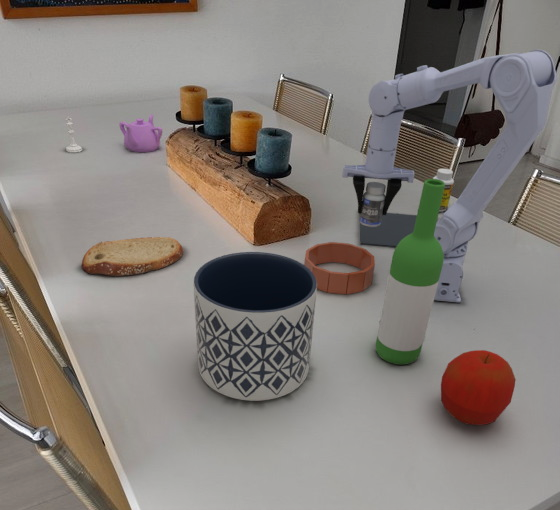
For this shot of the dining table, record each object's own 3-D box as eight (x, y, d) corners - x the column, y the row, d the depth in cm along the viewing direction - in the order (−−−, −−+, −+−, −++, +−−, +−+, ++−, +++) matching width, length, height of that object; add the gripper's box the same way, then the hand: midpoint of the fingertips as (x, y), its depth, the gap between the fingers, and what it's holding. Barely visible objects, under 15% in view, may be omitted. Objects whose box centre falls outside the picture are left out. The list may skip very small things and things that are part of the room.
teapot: (128, 155, 172) (124, 125, 166) (120, 143, 182) (116, 114, 176) (165, 152, 176) (163, 123, 170) (155, 140, 186) (153, 112, 180)
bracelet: (372, 297, 110) (375, 277, 107) (301, 290, 110) (302, 270, 108) (370, 264, 121) (373, 245, 118) (306, 258, 122) (307, 239, 119)
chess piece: (65, 148, 174) (58, 114, 168) (81, 147, 176) (75, 113, 170) (67, 153, 171) (60, 118, 165) (83, 151, 173) (77, 117, 166)
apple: (488, 392, 88) (511, 333, 80) (511, 437, 80) (538, 376, 72) (427, 392, 87) (443, 332, 80) (444, 437, 79) (464, 375, 72)
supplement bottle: (436, 214, 146) (445, 175, 139) (422, 206, 149) (430, 169, 143) (451, 210, 148) (460, 172, 142) (436, 203, 152) (444, 166, 145)
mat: (445, 252, 128) (446, 250, 127) (360, 244, 129) (360, 242, 128) (435, 218, 143) (436, 217, 143) (359, 211, 144) (360, 210, 144)
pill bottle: (356, 224, 118) (361, 185, 113) (363, 216, 121) (369, 179, 116) (376, 229, 116) (383, 190, 111) (383, 221, 120) (390, 183, 114)
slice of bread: (189, 249, 123) (188, 233, 120) (153, 286, 109) (151, 269, 107) (117, 236, 126) (114, 221, 124) (74, 271, 112) (70, 255, 110)
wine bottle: (425, 350, 96) (469, 180, 77) (410, 372, 91) (454, 196, 72) (384, 335, 99) (417, 168, 80) (367, 357, 94) (398, 183, 75)
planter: (176, 364, 90) (167, 275, 79) (257, 324, 100) (259, 241, 90) (249, 421, 80) (251, 327, 70) (331, 370, 90) (342, 283, 80)
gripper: (416, 143, 112) (404, 208, 120) (346, 138, 112) (338, 202, 121) (420, 154, 106) (407, 220, 115) (346, 148, 107) (338, 215, 115)
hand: (372, 212), depth 117 cm, fingers closed on pill bottle, 5 cm apart
